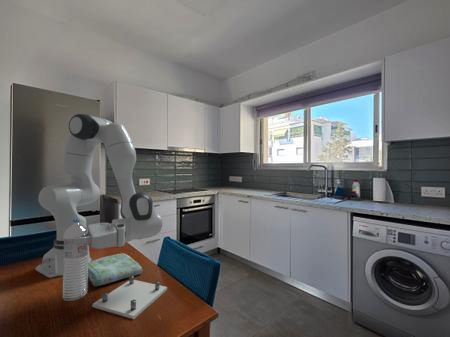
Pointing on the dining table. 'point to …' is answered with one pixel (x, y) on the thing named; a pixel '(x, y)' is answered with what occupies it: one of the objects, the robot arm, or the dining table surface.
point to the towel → (112, 269)
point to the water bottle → (75, 263)
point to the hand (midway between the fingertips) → (72, 238)
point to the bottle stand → (130, 298)
